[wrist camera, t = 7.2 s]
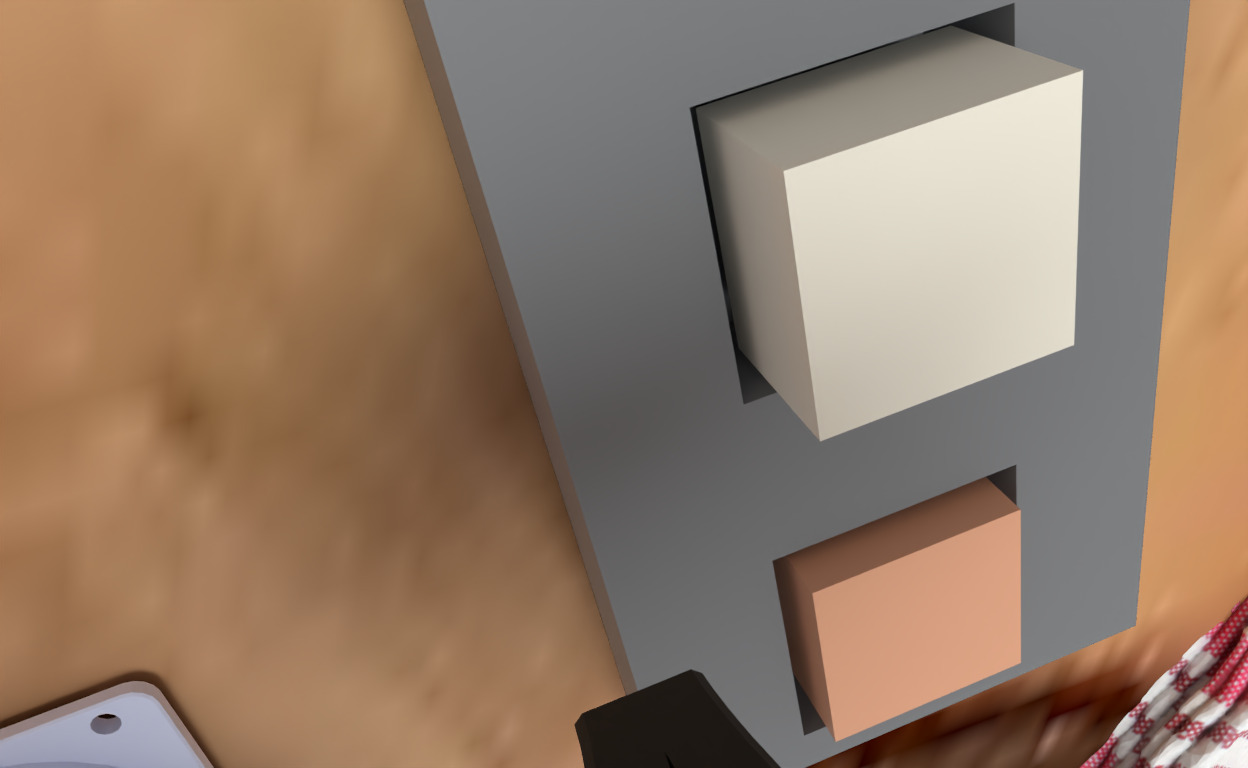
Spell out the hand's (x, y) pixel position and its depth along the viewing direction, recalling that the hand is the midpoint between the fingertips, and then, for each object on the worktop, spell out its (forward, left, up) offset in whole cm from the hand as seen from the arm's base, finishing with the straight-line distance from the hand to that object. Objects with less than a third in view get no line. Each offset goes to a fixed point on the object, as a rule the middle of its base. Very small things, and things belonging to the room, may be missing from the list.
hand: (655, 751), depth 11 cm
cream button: (+6, +2, -7) cm, 9 cm away
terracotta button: (+6, -7, -8) cm, 12 cm away
